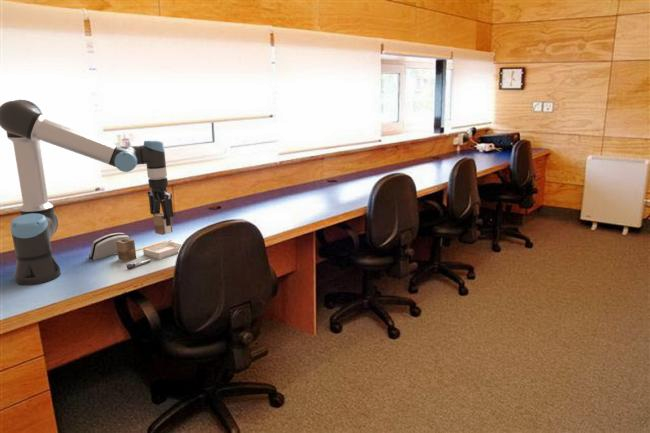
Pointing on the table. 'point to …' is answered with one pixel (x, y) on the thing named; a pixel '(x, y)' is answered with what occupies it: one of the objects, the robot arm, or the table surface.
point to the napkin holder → (106, 245)
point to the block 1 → (126, 249)
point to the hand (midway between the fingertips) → (163, 231)
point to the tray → (162, 249)
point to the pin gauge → (137, 264)
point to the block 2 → (160, 223)
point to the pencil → (149, 246)
